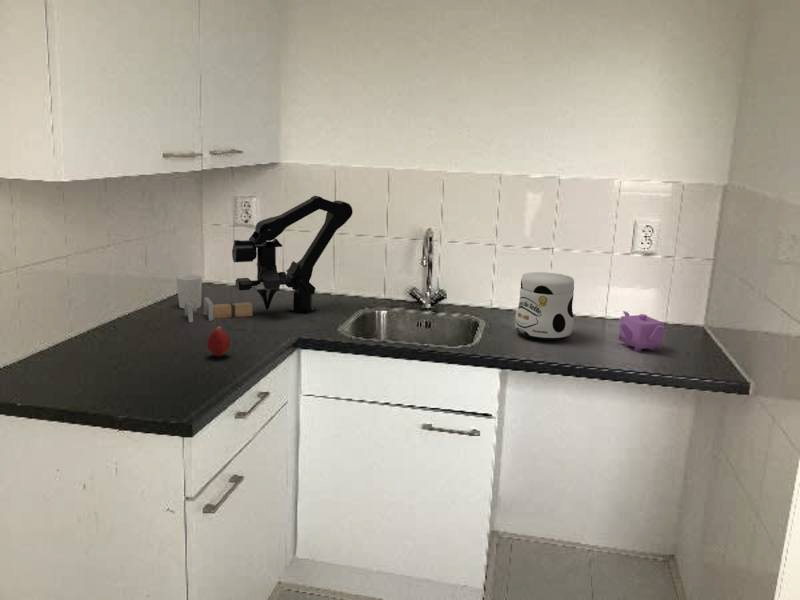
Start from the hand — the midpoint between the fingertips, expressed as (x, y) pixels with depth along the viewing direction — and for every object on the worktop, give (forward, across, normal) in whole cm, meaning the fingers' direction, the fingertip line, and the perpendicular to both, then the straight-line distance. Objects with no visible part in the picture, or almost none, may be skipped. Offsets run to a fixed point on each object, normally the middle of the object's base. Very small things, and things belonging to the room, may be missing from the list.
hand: (266, 309), depth 229 cm
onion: (+2, -23, -40) cm, 46 cm away
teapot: (+2, +91, -68) cm, 114 cm away
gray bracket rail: (+1, -21, +1) cm, 21 cm away
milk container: (+2, +72, -49) cm, 87 cm away
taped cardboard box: (+1, -11, 0) cm, 11 cm away
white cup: (+2, -22, +15) cm, 26 cm away
